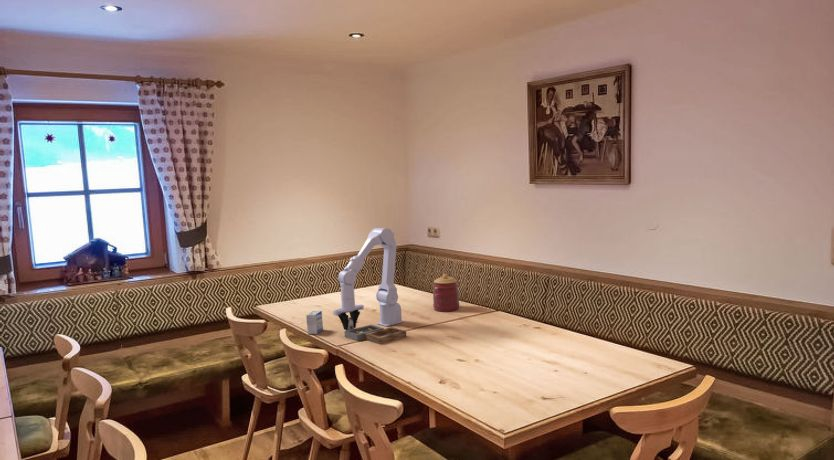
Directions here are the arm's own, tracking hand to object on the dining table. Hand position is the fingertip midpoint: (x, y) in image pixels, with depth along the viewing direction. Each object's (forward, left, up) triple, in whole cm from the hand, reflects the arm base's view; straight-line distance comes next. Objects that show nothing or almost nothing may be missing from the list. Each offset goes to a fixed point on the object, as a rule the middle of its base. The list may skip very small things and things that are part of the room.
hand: (349, 328), depth 262 cm
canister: (-56, +1, -2) cm, 56 cm away
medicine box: (+10, -13, -2) cm, 16 cm away
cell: (0, 0, -2) cm, 2 cm away
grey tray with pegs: (-2, +9, -2) cm, 9 cm away
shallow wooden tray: (-5, +19, -2) cm, 20 cm away
